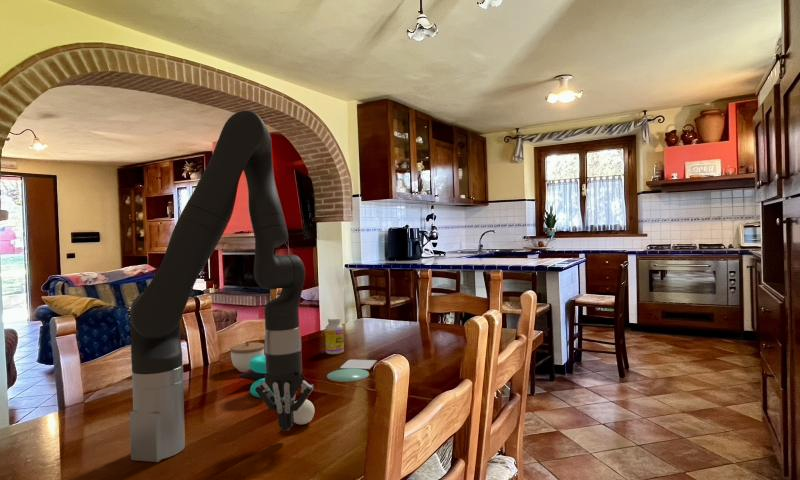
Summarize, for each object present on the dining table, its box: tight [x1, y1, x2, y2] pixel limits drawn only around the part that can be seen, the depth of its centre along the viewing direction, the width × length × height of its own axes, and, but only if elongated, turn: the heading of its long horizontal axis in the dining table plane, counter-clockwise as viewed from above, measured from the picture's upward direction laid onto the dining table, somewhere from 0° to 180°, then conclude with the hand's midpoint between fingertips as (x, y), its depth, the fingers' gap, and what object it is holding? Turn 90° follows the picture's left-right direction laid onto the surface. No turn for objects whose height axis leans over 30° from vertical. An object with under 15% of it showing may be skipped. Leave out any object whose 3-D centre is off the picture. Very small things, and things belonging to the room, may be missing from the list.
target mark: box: [326, 368, 370, 383], centre depth 144 cm, size 13×13×1 cm
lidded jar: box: [230, 340, 265, 373], centre depth 153 cm, size 11×11×9 cm
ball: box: [293, 398, 316, 425], centre depth 107 cm, size 6×6×6 cm
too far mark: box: [339, 359, 378, 370], centre depth 156 cm, size 10×10×1 cm
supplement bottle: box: [324, 316, 345, 355], centre depth 173 cm, size 7×7×13 cm
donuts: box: [249, 354, 274, 399], centre depth 129 cm, size 10×10×10 cm
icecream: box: [238, 369, 267, 382], centre depth 138 cm, size 7×7×15 cm
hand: (286, 428), depth 99 cm, fingers closed
